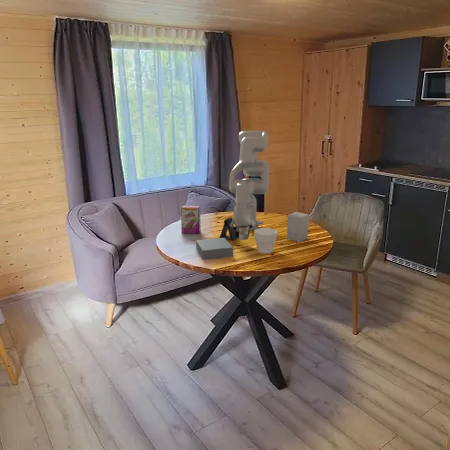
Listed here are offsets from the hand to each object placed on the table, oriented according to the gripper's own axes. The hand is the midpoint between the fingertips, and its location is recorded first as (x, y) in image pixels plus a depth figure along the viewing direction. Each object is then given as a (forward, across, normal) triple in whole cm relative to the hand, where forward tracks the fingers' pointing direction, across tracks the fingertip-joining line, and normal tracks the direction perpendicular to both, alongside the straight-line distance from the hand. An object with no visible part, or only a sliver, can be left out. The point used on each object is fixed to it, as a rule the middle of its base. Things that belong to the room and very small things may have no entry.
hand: (242, 236), depth 227 cm
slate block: (+4, +18, +8) cm, 20 cm away
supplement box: (+5, -34, 0) cm, 34 cm away
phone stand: (+5, +4, -13) cm, 15 cm away
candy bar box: (+6, +23, -29) cm, 38 cm away
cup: (+5, -9, +13) cm, 16 cm away
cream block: (+1, 0, 0) cm, 1 cm away
